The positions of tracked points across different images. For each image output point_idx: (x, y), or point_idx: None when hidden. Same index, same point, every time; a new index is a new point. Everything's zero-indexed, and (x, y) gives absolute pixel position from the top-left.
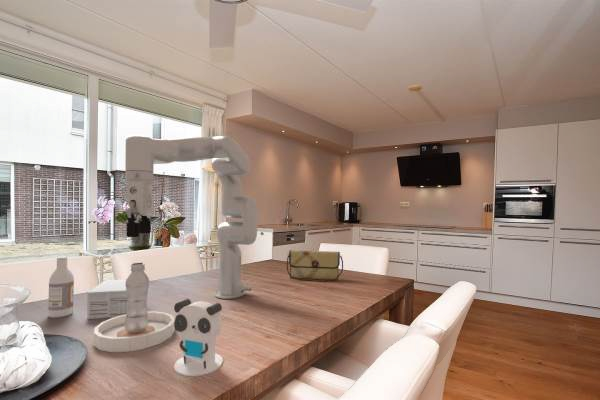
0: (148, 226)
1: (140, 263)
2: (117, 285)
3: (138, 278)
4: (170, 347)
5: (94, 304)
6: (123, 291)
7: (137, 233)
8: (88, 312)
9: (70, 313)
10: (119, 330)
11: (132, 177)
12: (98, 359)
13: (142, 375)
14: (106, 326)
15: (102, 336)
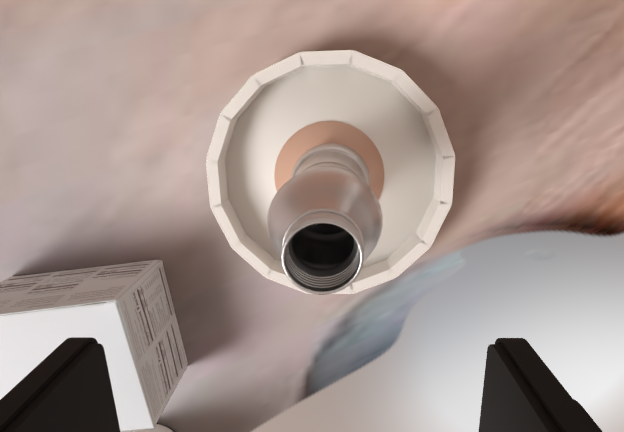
0: (43, 412)
1: (283, 254)
2: None
3: (370, 211)
4: (435, 31)
5: (167, 377)
6: (123, 318)
7: (537, 371)
8: (180, 375)
9: (155, 425)
10: None
11: None
12: (479, 213)
13: (603, 58)
14: None
15: (428, 242)
